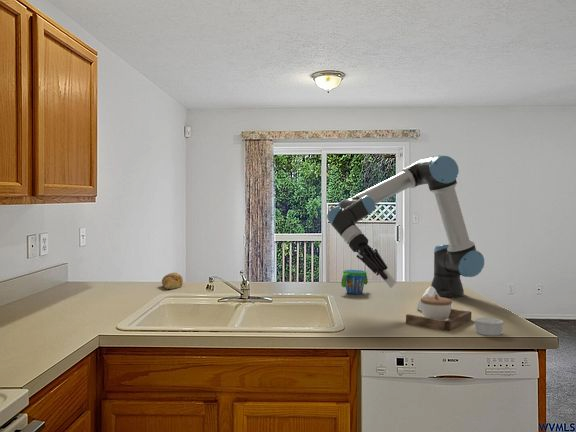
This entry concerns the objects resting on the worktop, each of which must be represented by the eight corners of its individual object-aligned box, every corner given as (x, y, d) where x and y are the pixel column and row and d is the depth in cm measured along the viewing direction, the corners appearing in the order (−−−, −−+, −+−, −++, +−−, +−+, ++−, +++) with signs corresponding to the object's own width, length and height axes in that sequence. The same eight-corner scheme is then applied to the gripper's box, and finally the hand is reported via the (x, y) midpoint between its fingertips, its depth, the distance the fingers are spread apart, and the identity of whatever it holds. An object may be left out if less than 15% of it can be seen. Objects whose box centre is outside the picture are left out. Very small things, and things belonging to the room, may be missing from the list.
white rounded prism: (418, 291, 219) (411, 301, 196) (433, 284, 216) (428, 293, 194) (426, 306, 218) (420, 318, 195) (441, 299, 215) (437, 311, 193)
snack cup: (359, 289, 242) (359, 268, 241) (374, 293, 233) (375, 271, 233) (334, 292, 233) (334, 270, 233) (349, 296, 224) (349, 273, 224)
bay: (405, 323, 176) (406, 314, 176) (430, 313, 192) (430, 305, 192) (448, 331, 166) (449, 322, 166) (471, 319, 183) (471, 311, 183)
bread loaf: (173, 298, 233) (181, 283, 233) (154, 287, 233) (162, 272, 233) (182, 288, 255) (189, 275, 254) (164, 279, 254) (172, 265, 254)
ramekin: (470, 329, 170) (470, 316, 170) (496, 329, 169) (497, 317, 169) (479, 336, 161) (479, 323, 161) (507, 337, 161) (508, 323, 160)
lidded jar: (446, 325, 174) (447, 298, 173) (416, 321, 179) (416, 295, 179) (454, 319, 183) (455, 294, 182) (425, 315, 188) (426, 291, 188)
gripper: (358, 244, 207) (395, 288, 197) (340, 246, 197) (378, 294, 187) (369, 231, 203) (407, 276, 193) (352, 233, 193) (391, 281, 183)
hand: (393, 285), depth 190 cm, fingers closed
